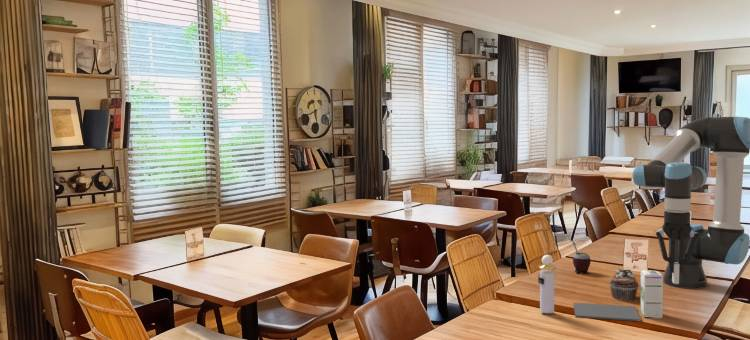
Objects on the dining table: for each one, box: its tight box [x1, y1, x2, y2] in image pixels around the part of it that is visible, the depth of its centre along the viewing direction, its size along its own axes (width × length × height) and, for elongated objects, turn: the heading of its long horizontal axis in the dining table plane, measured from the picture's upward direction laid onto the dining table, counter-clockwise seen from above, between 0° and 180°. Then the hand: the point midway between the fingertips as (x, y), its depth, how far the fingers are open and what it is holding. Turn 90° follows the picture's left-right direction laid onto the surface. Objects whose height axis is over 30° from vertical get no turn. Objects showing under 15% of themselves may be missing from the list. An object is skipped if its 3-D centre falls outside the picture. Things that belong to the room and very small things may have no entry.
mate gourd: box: [567, 237, 591, 275], centre depth 250 cm, size 8×8×15 cm
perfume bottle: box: [537, 254, 557, 314], centre depth 199 cm, size 6×6×20 cm
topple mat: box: [572, 302, 642, 322], centre depth 199 cm, size 20×14×1 cm
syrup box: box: [640, 269, 664, 319], centre depth 195 cm, size 6×6×14 cm
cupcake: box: [609, 269, 640, 302], centre depth 215 cm, size 10×10×10 cm
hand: (675, 282), depth 193 cm, fingers closed
